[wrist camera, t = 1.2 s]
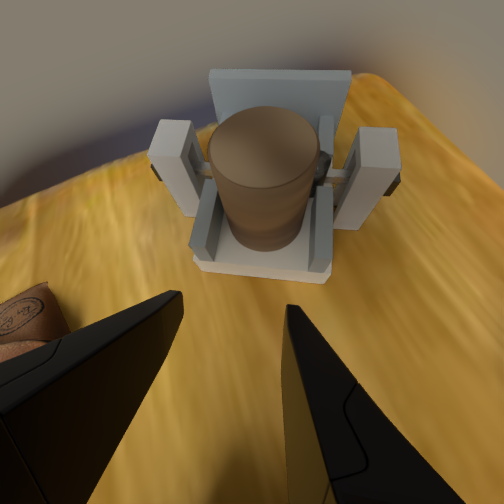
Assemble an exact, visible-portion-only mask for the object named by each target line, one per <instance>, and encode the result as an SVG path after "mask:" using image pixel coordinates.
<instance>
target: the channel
mask: <svg viewBox="0 0 504 504" xmlns="http://www.w3.org/2000/svg"><path fill="white" fill-rule="evenodd" d="M208 79H209V84H210V88H211V93H212V97H213V102H214V106H215V110H216V115H217V119H218V124H219V125H220V124H221V123H222V122H224V121H225V120H226V119H227V118H229V117H230V116H232V115H233V114H235V113H237V112H240V111H242V110H245V109H248V108H253V107H260V106H273V107H280V108H284V109H288V110H290V111H293V112H295V113H297V114H298V115H300V116H301V117H303V118H304V119H306V120H307V121H308V122H309V123H310V124H311V125H312V126H313V127H314V129H315V131H316V132H317V135H318V137H319V141H320V150H322V151H325V152H326V153H328V154H329V156H330V158H331V164H330V167H329V169H332V160H333V150H334V137H335V134H336V131H337V127H338V124H339V121H340V117H341V114H342V111H343V107H344V104H345V100H346V97H347V94H348V90H349V87H350V84H351V70H349V71H347V70H346V71H345V70H257V69H255V70H254V69H251V70H250V69H211V71H210V74H209V78H208ZM147 156H148V158H149V159H150V161H151V163H152V164H153V166H154V167H155V169H156V171H157V172H158V174H159V175H160V177H161V179H162V180H163V182H164V184H165V185H166V187H167V188H168V190H169V192H170V193H171V195H172V197H173V198H174V200H175V201H176V203H177V205H178V206H179V208H180V209H181V211H182V213H183V214H184V216H187V217H196V218H195V222H194V226H193V230H192V234H191V238H190V242H189V247H190V248H191V249H192V251H193V252H194V257H193V261H194V262H195V263H196V264H197V266H198V267H199V268H200V269H201V270H202V271H205V272H215V273H224V274H233V275H242V276H252V277H261V278H270V279H280V280H289V281H298V282H307V283H317V284H324V283H325V282H326V281H327V279H328V278H329V277H330V275H331V271H332V260H333V229H345V230H357V231H358V229H359V228H360V227H361V225H362V224H363V222H364V221H365V220H366V218H367V217H368V215H369V214H370V213H371V211H372V210H373V208H374V207H375V206H376V204H377V203H378V201H379V200H380V199H381V197H382V196H383V194H384V193H385V192H386V190H387V189H388V187H389V186H390V184H391V183H392V182H393V180H394V179H395V177H396V176H397V175H398V173H399V172H400V170H401V169H402V167H401V159H400V151H399V143H398V135H397V128H382V127H359V129H358V131H357V134H356V136H355V139H354V142H353V144H352V147H351V149H350V152H349V154H348V157H347V159H346V162H345V164H344V167H343V170H354V171H353V173H352V175H351V177H350V179H349V182H348V184H347V185H346V184H337V185H336V187H335V190H334V192H333V187H332V184H330V183H324V186H317V188H316V192H315V195H314V198H309V199H308V203H307V207H306V211H305V215H304V219H303V223H302V227H301V230H300V232H299V234H298V235H297V237H296V238H295V239H294V240H293V241H292V242H291V243H290V244H289V245H287V246H286V247H284V248H282V249H279V250H276V251H271V252H259V251H254V250H251V249H249V248H246V247H245V246H243V245H242V244H240V243H239V242H238V241H237V240H236V239H235V237H234V236H233V234H232V232H231V230H230V227H229V223H228V220H227V217H226V214H225V211H224V208H223V204H222V201H221V198H220V195H219V192H218V189H217V185H216V182H215V179H214V176H213V177H212V179H211V178H210V176H201V175H195V173H194V171H193V168H192V166H191V164H190V161H199V162H205V160H204V157H203V154H202V151H201V148H200V145H199V142H198V139H197V136H196V133H195V130H194V127H193V124H192V121H186V120H160V122H159V125H158V127H157V130H156V133H155V135H154V138H153V140H152V143H151V146H150V148H149V151H148V153H147ZM333 206H337V208H336V210H335V212H334V214H333Z"/></svg>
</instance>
